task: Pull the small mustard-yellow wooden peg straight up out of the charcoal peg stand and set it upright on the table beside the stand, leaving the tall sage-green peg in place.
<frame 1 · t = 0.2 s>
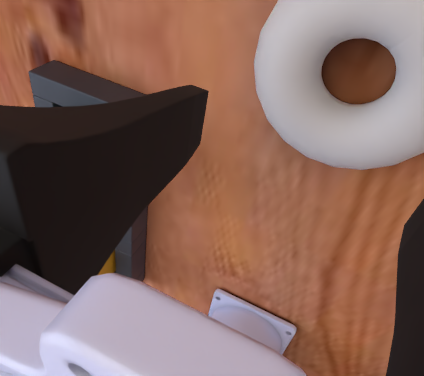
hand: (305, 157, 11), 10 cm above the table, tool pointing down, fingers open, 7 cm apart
donut: (361, 61, 19), on the table
peg stand: (107, 189, 33), on the table
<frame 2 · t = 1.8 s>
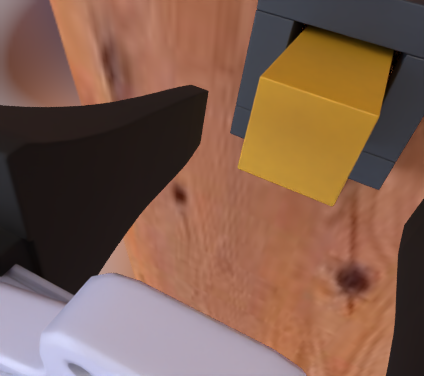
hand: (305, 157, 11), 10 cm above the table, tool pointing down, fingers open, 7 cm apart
mustard peg: (337, 71, 19), resting in peg stand
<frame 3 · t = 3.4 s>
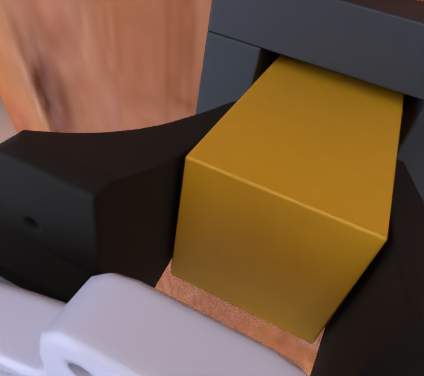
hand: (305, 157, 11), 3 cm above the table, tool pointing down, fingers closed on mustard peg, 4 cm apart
mustard peg: (326, 111, 14), resting in peg stand, touching gripper
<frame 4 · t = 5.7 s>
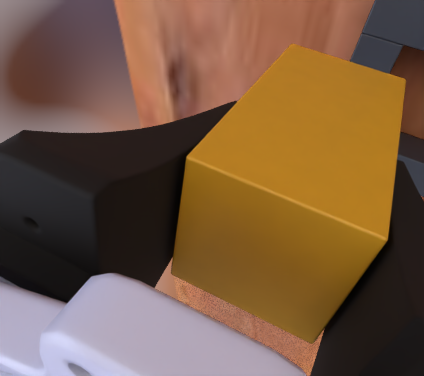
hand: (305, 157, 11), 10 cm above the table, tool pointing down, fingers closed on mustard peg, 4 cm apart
mustard peg: (326, 111, 14), point 7 cm above the table, touching gripper
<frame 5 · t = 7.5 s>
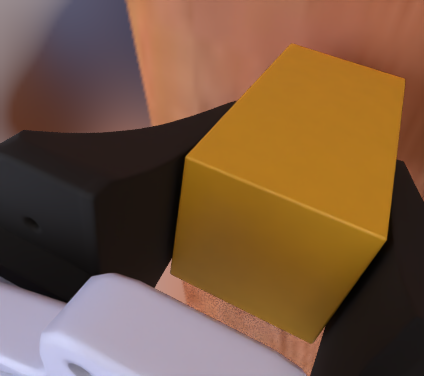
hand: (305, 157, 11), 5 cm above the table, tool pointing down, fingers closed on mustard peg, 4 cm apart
mustard peg: (326, 111, 14), point 1 cm above the table, touching gripper
when the fingers open (3 cm above the table, at t = 8.3 s): mustard peg stays where it is, on the table.
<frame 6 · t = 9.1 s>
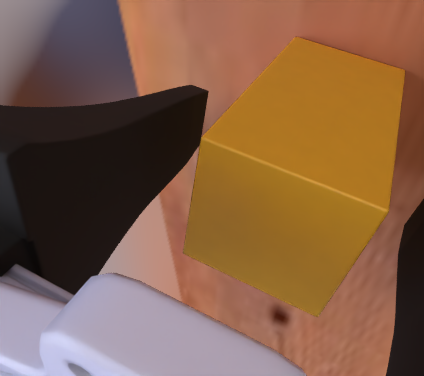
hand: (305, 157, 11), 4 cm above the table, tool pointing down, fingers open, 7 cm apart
mustard peg: (328, 102, 14), on the table
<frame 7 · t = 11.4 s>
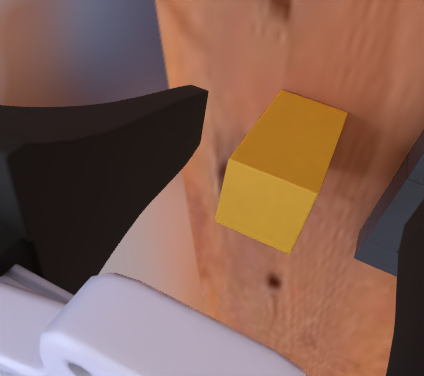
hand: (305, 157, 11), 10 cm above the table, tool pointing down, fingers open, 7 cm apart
mustard peg: (303, 129, 22), on the table
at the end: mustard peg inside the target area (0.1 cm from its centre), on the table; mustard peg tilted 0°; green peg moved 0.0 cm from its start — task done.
